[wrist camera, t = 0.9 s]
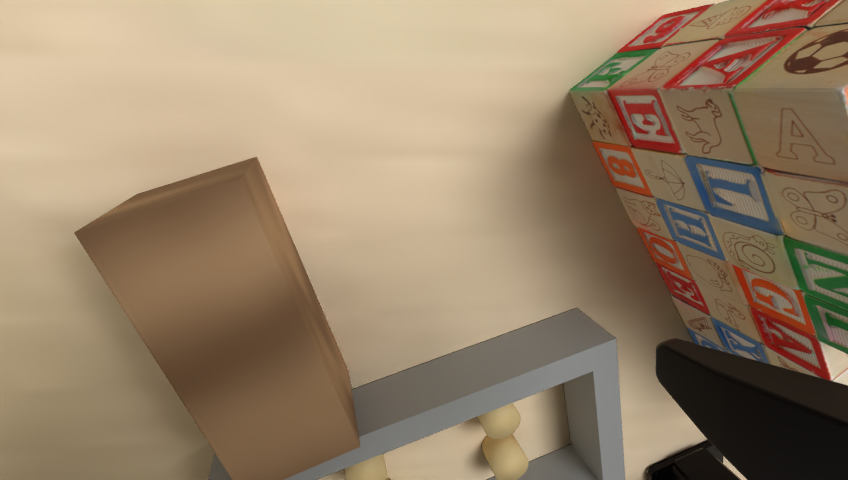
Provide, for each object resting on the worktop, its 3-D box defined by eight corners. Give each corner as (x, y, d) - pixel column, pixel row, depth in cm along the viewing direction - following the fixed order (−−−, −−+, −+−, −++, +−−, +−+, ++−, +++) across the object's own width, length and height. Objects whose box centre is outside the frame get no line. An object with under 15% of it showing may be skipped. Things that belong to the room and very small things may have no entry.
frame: (591, 451, 30) (626, 494, 27) (295, 578, 27) (294, 645, 23) (577, 307, 26) (616, 338, 22) (218, 438, 22) (204, 496, 19)
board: (348, 369, 23) (360, 446, 18) (256, 406, 22) (243, 496, 17) (257, 156, 19) (239, 179, 14) (139, 193, 18) (73, 232, 13)
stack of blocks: (766, 297, 30) (1046, 421, 19) (696, 353, 30) (934, 510, 19) (661, 11, 21) (1065, -82, 10) (562, 89, 21) (855, 86, 10)
